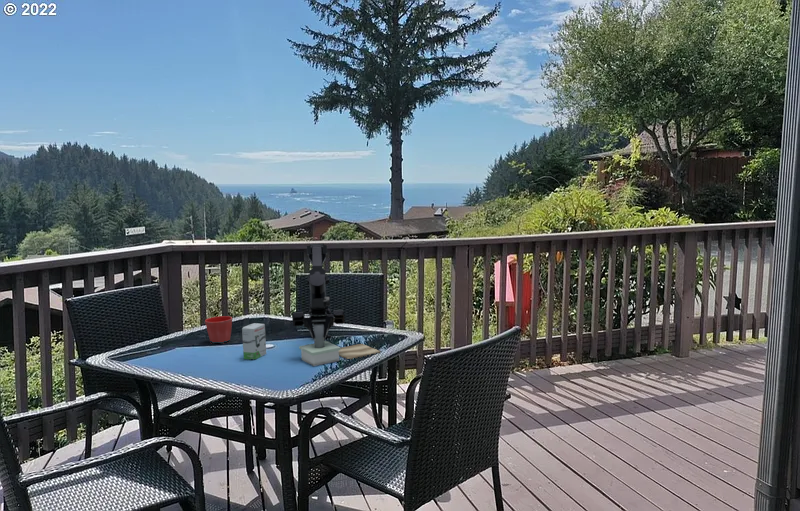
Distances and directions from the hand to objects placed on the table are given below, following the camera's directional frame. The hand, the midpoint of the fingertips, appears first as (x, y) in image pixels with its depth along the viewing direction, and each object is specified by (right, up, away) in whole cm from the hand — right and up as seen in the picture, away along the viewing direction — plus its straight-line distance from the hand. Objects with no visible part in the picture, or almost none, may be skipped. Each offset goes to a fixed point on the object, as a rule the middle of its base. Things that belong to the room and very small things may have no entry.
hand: (319, 338), depth 210 cm
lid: (0, -4, +2) cm, 5 cm away
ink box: (-25, -8, +10) cm, 28 cm away
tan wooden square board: (+12, -7, +11) cm, 18 cm away
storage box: (0, -8, +2) cm, 9 cm away
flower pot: (-45, -6, +32) cm, 56 cm away
